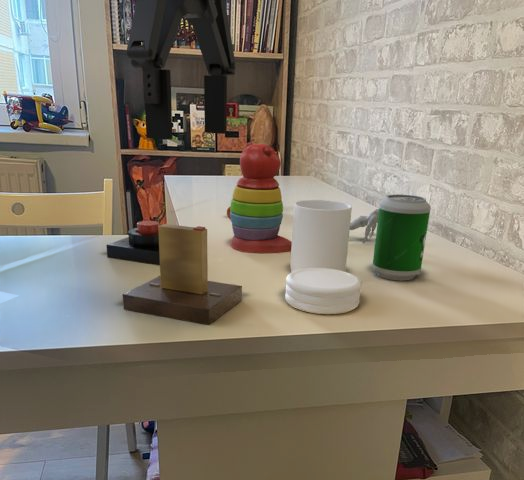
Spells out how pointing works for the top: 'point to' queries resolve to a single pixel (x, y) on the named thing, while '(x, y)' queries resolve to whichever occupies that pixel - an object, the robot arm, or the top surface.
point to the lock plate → (183, 301)
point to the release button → (148, 227)
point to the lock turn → (183, 258)
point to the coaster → (322, 290)
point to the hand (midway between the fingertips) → (190, 136)
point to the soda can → (400, 236)
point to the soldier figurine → (366, 223)
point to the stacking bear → (258, 203)
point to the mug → (320, 234)
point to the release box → (136, 248)
